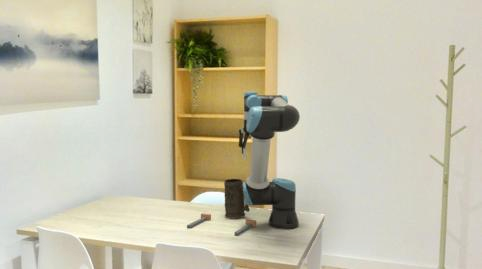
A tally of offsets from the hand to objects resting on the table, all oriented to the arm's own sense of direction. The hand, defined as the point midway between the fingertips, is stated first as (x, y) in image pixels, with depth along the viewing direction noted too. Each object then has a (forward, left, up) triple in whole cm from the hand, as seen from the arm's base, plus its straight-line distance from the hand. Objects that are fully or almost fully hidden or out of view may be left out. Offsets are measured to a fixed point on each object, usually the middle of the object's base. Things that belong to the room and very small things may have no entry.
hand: (250, 159), depth 251 cm
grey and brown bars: (0, +37, -29) cm, 47 cm away
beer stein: (0, +16, -29) cm, 33 cm away
